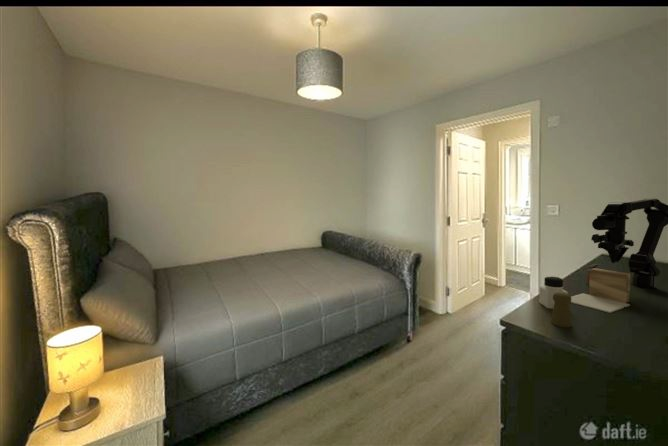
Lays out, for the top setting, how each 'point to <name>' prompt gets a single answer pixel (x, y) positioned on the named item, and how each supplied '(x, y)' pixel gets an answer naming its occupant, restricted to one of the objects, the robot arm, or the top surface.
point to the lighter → (589, 272)
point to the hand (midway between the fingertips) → (615, 262)
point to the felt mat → (597, 303)
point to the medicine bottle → (550, 291)
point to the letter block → (609, 285)
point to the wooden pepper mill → (561, 310)
